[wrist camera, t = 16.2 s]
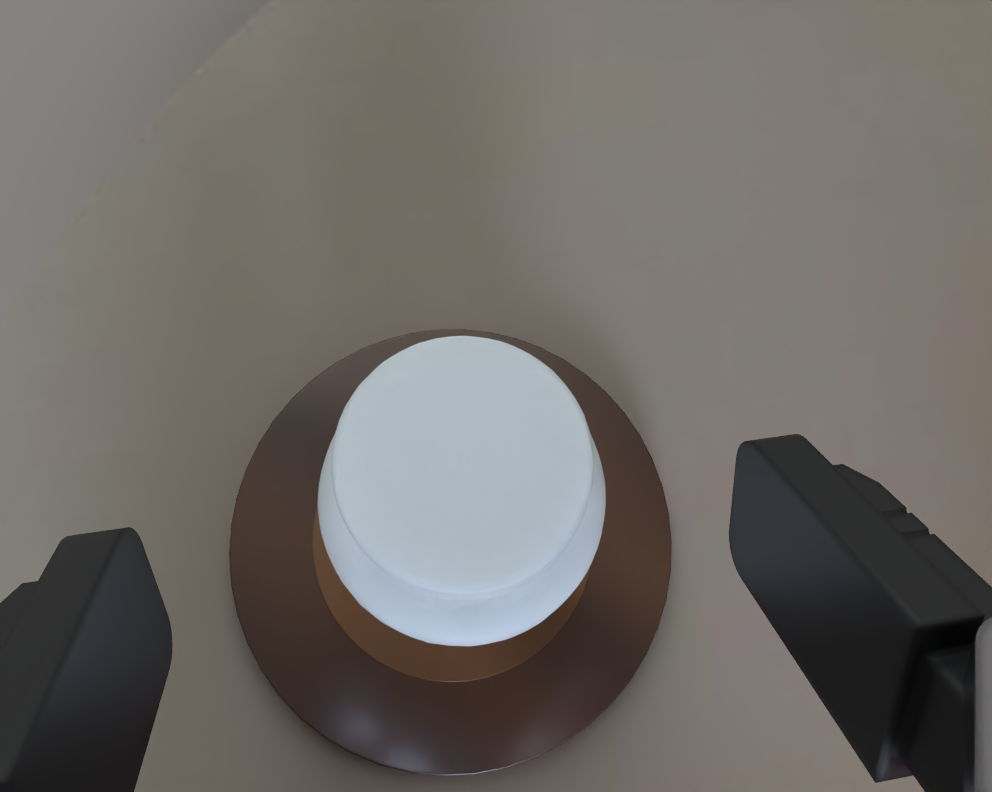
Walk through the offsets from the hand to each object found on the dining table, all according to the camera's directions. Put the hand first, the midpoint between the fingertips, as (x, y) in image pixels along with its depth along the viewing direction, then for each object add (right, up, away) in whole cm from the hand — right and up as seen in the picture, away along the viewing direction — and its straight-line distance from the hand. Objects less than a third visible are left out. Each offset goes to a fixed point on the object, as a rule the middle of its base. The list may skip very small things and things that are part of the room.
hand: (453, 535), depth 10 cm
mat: (-1, -2, +11) cm, 11 cm away
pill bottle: (0, -2, +11) cm, 11 cm away
